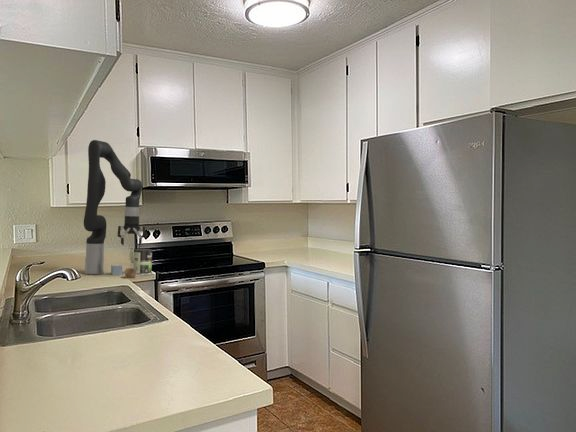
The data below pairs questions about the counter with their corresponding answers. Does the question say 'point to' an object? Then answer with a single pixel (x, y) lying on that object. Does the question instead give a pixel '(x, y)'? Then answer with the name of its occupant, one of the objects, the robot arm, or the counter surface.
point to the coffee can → (143, 261)
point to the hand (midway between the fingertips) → (131, 244)
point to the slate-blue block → (116, 269)
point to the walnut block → (130, 272)
